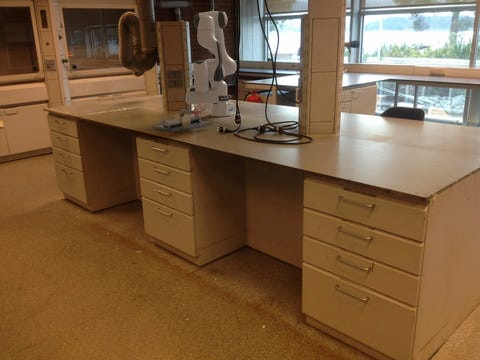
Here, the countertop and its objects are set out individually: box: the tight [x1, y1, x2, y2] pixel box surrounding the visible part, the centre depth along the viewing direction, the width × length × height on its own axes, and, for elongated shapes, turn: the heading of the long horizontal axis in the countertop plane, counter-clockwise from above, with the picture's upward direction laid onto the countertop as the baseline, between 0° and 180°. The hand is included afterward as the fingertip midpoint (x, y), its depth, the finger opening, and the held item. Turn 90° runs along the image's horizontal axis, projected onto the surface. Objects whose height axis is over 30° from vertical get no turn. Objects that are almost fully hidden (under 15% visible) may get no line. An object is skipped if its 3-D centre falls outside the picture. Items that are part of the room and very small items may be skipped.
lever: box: [178, 108, 202, 116], centre depth 276 cm, size 17×4×4 cm, turn 52°
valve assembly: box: [152, 114, 213, 133], centre depth 282 cm, size 30×22×7 cm
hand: (202, 110), depth 276 cm, fingers closed
